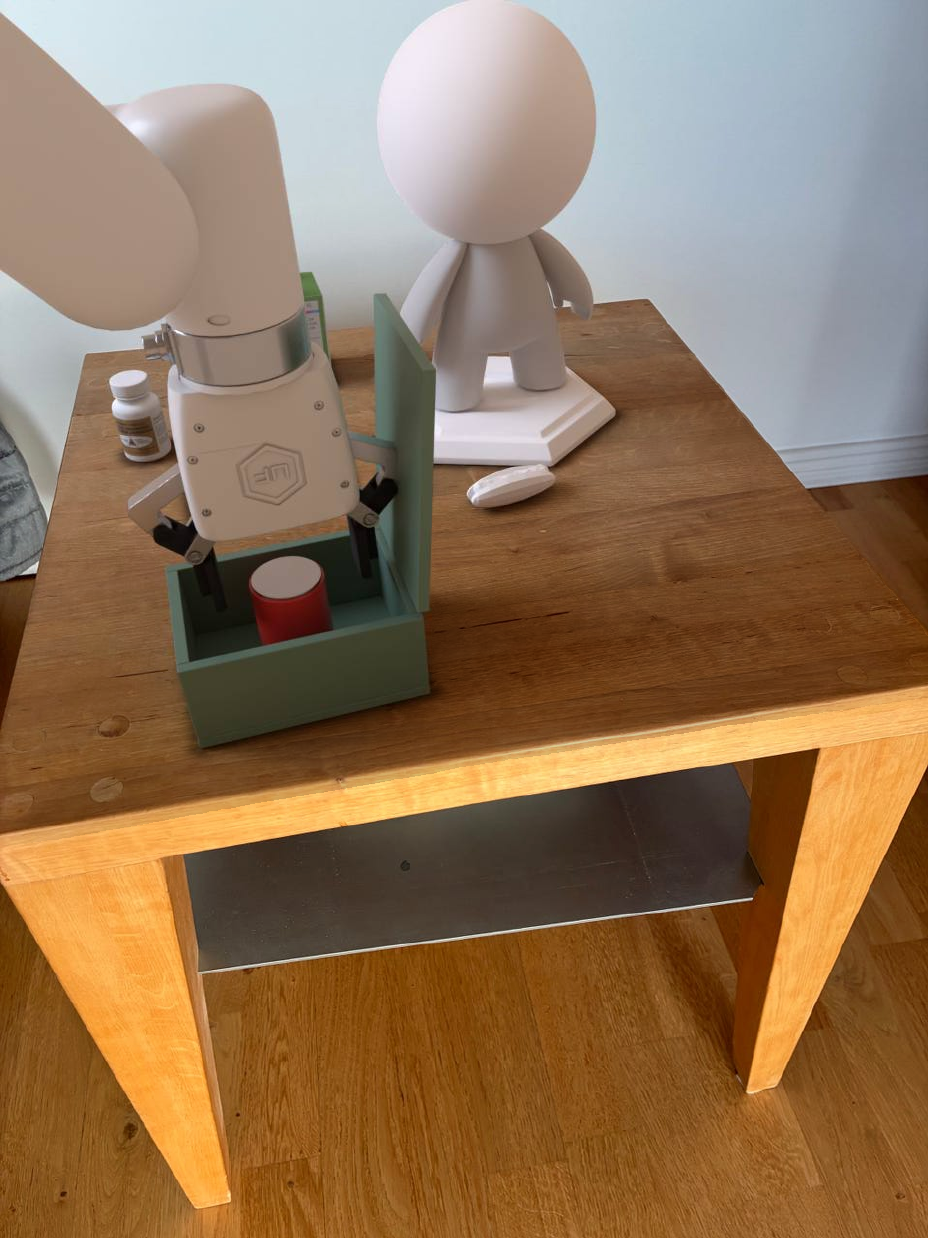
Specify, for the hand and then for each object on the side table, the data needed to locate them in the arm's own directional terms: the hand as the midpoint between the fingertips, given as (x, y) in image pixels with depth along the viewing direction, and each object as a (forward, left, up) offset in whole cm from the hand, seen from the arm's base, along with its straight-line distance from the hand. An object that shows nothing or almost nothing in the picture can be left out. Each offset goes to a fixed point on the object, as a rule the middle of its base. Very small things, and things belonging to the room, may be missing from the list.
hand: (292, 582), depth 65 cm
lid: (+8, 0, +8) cm, 11 cm away
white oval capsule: (+21, +15, -8) cm, 27 cm away
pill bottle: (-9, +35, -8) cm, 37 cm away
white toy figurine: (+25, +30, -7) cm, 40 cm away
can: (0, 0, -7) cm, 7 cm away
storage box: (0, 0, -7) cm, 7 cm away
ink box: (+9, +46, -8) cm, 48 cm away
